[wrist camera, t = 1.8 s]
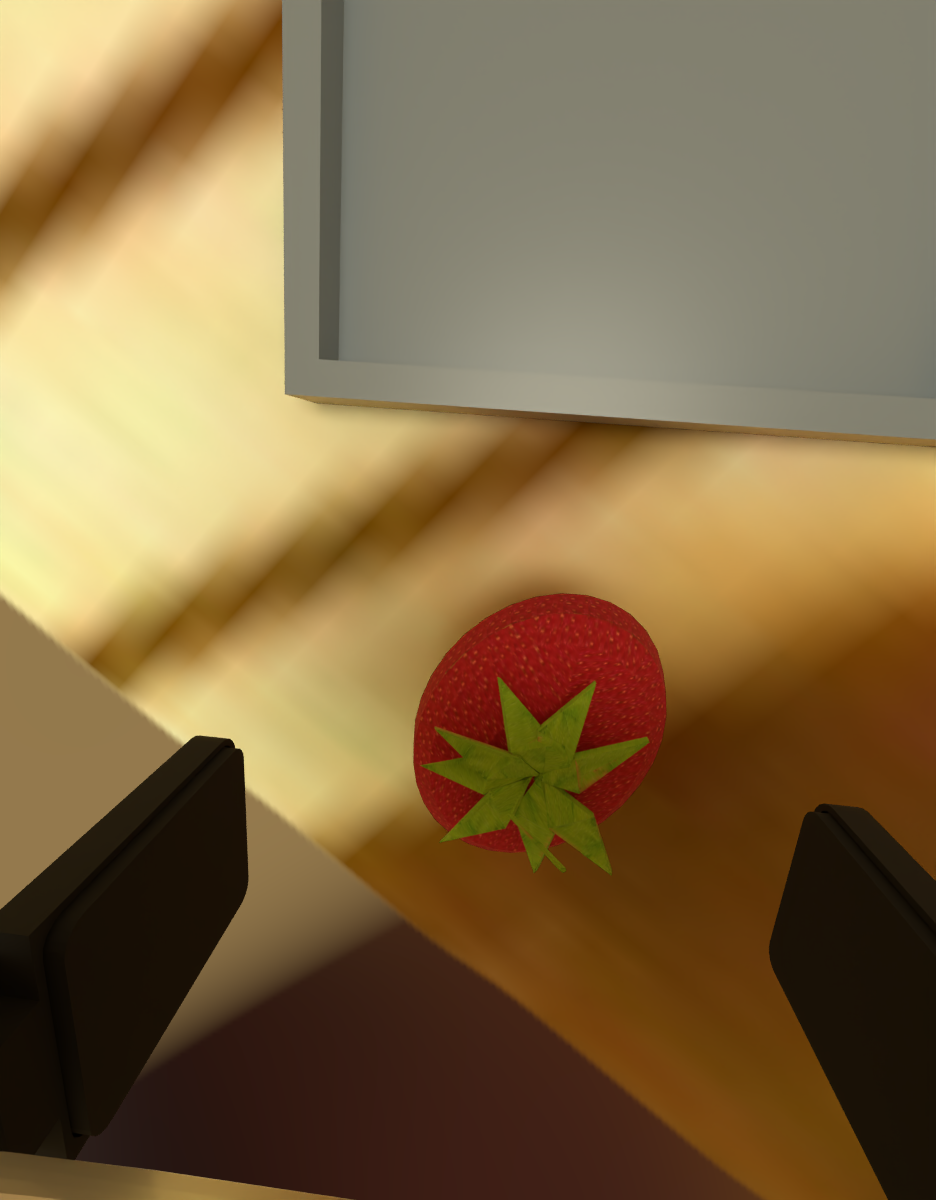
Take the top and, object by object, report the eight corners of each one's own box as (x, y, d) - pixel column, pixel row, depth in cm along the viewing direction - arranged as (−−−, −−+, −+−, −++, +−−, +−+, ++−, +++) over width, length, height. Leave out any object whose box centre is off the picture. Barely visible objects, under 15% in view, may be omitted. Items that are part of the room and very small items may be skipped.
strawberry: (668, 625, 19) (814, 792, 9) (530, 773, 21) (535, 1039, 11) (533, 519, 19) (543, 580, 9) (405, 680, 21) (299, 874, 11)
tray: (953, 448, 17) (1025, 445, 14) (316, 403, 18) (285, 394, 16) (1155, -263, 13) (1299, -430, 10) (320, -243, 14) (279, -384, 12)
